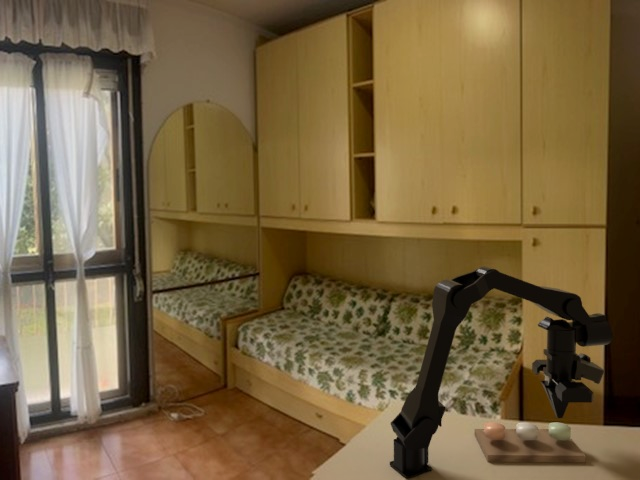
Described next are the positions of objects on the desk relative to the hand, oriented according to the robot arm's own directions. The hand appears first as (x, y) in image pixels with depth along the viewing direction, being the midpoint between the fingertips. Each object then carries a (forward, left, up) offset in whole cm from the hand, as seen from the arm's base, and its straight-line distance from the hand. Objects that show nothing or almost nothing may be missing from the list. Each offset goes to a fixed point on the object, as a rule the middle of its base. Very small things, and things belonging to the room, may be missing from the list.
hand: (559, 417), depth 116 cm
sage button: (0, 0, -4) cm, 4 cm away
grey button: (-6, +3, -4) cm, 8 cm away
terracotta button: (-12, +7, -4) cm, 15 cm away
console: (-6, +3, -7) cm, 10 cm away
